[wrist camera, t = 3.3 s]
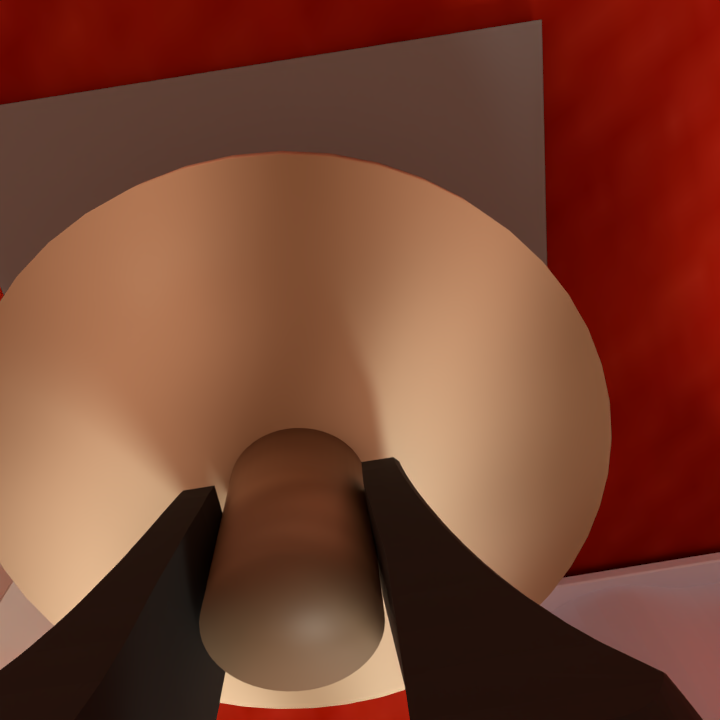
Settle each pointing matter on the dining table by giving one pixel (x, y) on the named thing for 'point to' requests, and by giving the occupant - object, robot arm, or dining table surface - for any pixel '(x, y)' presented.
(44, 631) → the bowl
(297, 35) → the dining table surface
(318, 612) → the lid
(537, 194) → the mat
